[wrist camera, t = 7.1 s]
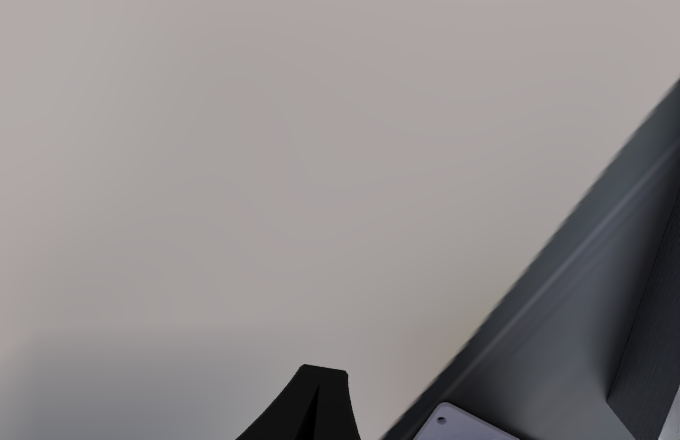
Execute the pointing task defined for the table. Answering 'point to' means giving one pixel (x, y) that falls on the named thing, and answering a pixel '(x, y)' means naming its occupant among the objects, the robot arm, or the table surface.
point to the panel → (654, 351)
